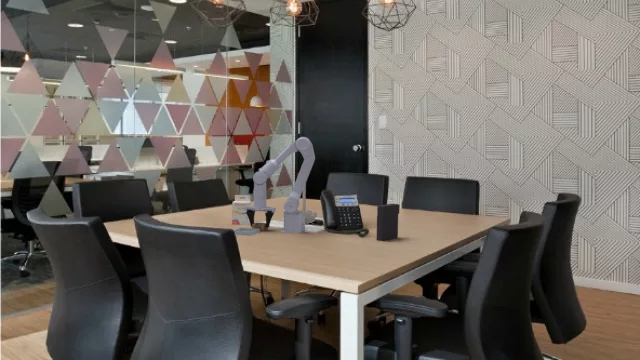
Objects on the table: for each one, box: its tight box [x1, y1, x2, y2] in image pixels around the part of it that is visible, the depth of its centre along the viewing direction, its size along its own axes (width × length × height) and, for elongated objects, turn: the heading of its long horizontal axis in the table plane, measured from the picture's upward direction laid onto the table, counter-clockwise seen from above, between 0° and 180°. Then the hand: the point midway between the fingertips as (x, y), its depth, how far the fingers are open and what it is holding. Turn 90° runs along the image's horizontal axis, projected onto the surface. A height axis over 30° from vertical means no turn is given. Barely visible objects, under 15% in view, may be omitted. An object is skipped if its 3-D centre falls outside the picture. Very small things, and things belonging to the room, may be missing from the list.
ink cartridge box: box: [231, 194, 252, 226], centre depth 277 cm, size 9×5×15 cm, turn 84°
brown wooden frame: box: [251, 222, 269, 232], centre depth 260 cm, size 7×6×3 cm
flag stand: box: [296, 165, 318, 225], centre depth 287 cm, size 13×13×30 cm
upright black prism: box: [376, 203, 400, 242], centre depth 243 cm, size 11×4×15 cm, turn 134°
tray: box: [234, 227, 261, 236], centre depth 252 cm, size 10×10×2 cm
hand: (260, 226), depth 260 cm, fingers open, 7 cm apart
